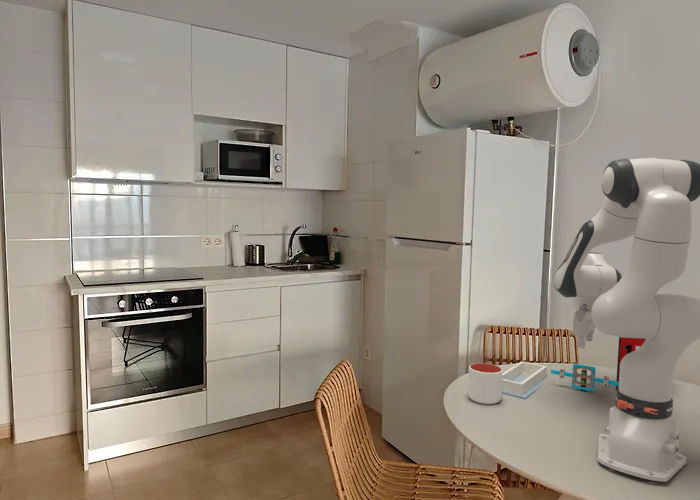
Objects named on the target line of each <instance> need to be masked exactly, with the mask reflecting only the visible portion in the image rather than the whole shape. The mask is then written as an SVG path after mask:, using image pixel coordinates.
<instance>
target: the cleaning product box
mask: <svg viewBox="0 0 700 500" xmlns="http://www.w3.org/2000/svg"><path fill="white" fill-rule="evenodd" d="M645 340H646V339H641V338H622V337H618V349H617V365H616V367H617V368H616V380H615V381H617V382H619V374H620V363H621V361H622V359H623V358H624V356H625V355H627V354H629V353H631V352H633V351H635V350H637V349H639V348H640V347H641V346H642V345H643V343H644V342H645ZM616 384H617V383H616ZM618 388H619V386H615V391H616V392H617V389H618Z"/></svg>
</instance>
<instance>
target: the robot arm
mask: <svg viewBox="0 0 700 500" xmlns="http://www.w3.org/2000/svg"><path fill="white" fill-rule="evenodd" d="M601 190H602V192H603V194H604V196H605V197H604V199H603V201H602V204H601V205H602V206H601V208H600V209H599V211H598V212H597V213H596V214H595V215H594V216H592V218H591V219H590V220H588V221H586V222H584V223H583V224H582V226H581V227H580V228H579V231H578V232H577V233H576V236H575V238H574V240H573V242H572V244H571V245H570V247H569V249H568V252H567V254H566V256H565V258H564V260H563V261H562V263H561V264H560V265H559V267H558V268H557V270H556V272H555V274H554V278H553V279H554V280H553V281H554V282H553V284H554V289H555V290H556V291H557V292H558V293H559V294H560V295H561V296H562V297H564V298H572V307H574V308H576V310H575V312H574V315H573V323H572V334H573V335H574V336H577V337H576V338H577V342H578V343H577V347H578V348H580V349H584V348H585V347H586V342H589V343H591V342H593V338H594V333H595V329H597V331H599V332H600V333H601V334H605V335H609V336H614V337H618V338H619V337H622V338H641V339H646V340H645V342H644V343H643V345H642V346H641V347H640V348H639V349H637V350H635V351H633V352H631V353H629V354H627V355H625V356H624V358H623V359H622V361H621V363H620V374H619V388H618V389H617V391H616V392H615V397H614V398H615V402H614V404H615V405H614V406H612V407H611V408H609V416H608V417H609V418H608V426H605V427H604V432H605V433H600V434H598V439H597V462H598V463H600V464H601V465H603V466H605V467H608V468H610V469H613V470H615V471H616V472H617V471H618V472H621V473H624V474H627V475H630V476H633V477H636V478H641V479H644V480H650V481H653V482H655V481H656V482H662V483H663V482H668V481H669V480H670V479H671V478H673V476H674V475H675V474H676V473H678V472H679V470H680V469H682V468H683V467H684V466H685V465H686V464H687V462H688V461H687V459H688V458H687V456H686V455H684V454H682V453H680V452H679V437H680V435H679V433H680V430H679V429H680V425H679V423H677V422H676V420H675V419H674V418H673V416H672V415H673V410H674V400H673V398H672V390H673V382H674V375H675V369H676V366H677V364H678V361H679V360H680V357H681V356H683V354H684V352H685V351H686V350H687V349H688V348H689V347H690V346H691V345H692V344H693V343H694V342H696V341H698V340H699V339H700V298H696V297H695V298H694V297H692V296H687V295H682V294H670V293H669V294H668V293H667V294H665V293H658V292H659V290H660V289H661V288H663V287H664V286H665V285H667V284H669V283H672V282H674V281H676V280H677V279H679V278H680V277H681V276H682V275H683V274H684V272H685V270H686V266H687V265H686V264H687V260H688V259H687V258H688V253H689V249H690V248H689V247H690V241H691V235H692V234H691V233H692V220H693V219H692V205H691V202H694V201H696V200H697V199H698V198H699V197H700V163H698V162H696V161H692V160H688V159H679V160H678V159H669V158H668V159H667V158H656V157H643V158H642V157H641V158H632V159H628V158H621V159H616V160H613V161H611V162H609V163H608V165H607V166H606V167H605V168H604V171H603V173H602V178H601ZM630 237H633V241H632V247H631V252H630V257H629V262H628V265H627V268H626V270H625V272H624V273H623V275H622V273H620V271H619V270H618V269H616V268H615V267H614V266H613V267H612V266H611V265H610V264H609V263H608V262H607V261H606V256H605V254H603V253H601V252H594V251H593V249H595V248H597V247H599V246H601V245H605V244H609V243H612V242H618V241H622V240H626V239H628V238H630ZM592 251H593V252H592Z"/></svg>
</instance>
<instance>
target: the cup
mask: <svg viewBox="0 0 700 500" xmlns="http://www.w3.org/2000/svg"><path fill="white" fill-rule="evenodd" d="M503 373H504V372H503V368H502V367H500V366H498V365H495V364H491V363H479V362H478V363H477V362H476V363H473V364H470V365H469V367H468V387H467V389H468V390H467V395H468V397H469V399H470V400H471V401H473V402H475V403H478V404H483V405H495V404H497V403H500V401H501V399H502V397H503V396H502V395H503V394H502V374H503Z"/></svg>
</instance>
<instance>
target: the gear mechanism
mask: <svg viewBox="0 0 700 500" xmlns="http://www.w3.org/2000/svg"><path fill="white" fill-rule="evenodd" d="M579 369H581V372H580V373H578V370H579ZM588 371H589V372H590V375H588ZM596 371H597V369H596V367H595V366H591V365H590V366H589V365H584V364H579V363H574V364H572V372H568V371H566V369H565V368H562V367H560V369H559V370H558V369H550V374H552V375H558V376H559V377H558V378H560V379H565V377H568V378H571V387H572V388H574V389H578V390H580V391H583V392H586V391H588V392H594V391H595V388H596V387H595V386H596V383H600V384H602V385H603V387H606V388H608V387H609V385H610V386H615V387H616V386H619V382H617V381H616V380H611V379H610V376H606V375H604V376H603V378H601V377H596ZM577 378H580V381H578V380H577ZM587 379H588V380H589V381H590V383H587ZM616 383H617V384H616ZM576 384H577V385H576ZM587 386H588V387H587Z"/></svg>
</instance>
